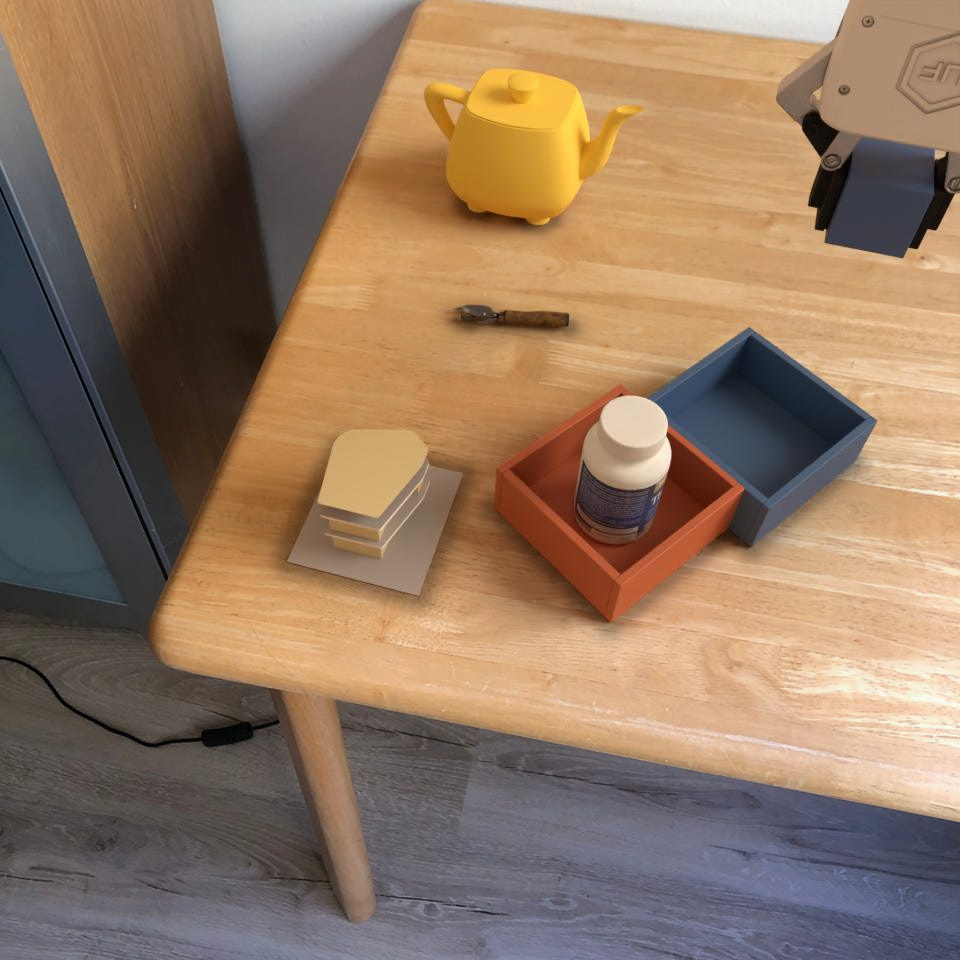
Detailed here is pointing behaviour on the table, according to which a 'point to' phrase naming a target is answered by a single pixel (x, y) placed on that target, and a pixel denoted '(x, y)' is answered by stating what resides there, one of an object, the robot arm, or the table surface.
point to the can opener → (515, 316)
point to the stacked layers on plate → (378, 511)
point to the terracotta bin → (600, 566)
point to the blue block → (883, 197)
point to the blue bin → (765, 427)
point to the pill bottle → (622, 471)
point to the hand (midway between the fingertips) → (867, 222)
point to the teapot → (521, 142)
